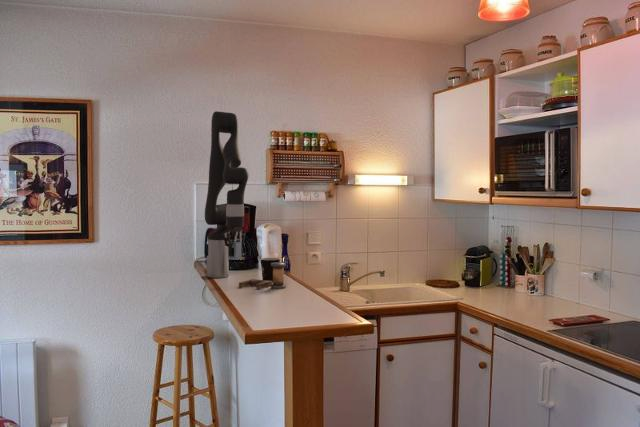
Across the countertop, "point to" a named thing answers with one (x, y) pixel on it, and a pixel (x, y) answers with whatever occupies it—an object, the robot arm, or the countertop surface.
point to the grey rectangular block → (236, 251)
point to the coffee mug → (268, 268)
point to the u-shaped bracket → (255, 283)
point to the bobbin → (278, 275)
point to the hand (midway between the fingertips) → (234, 255)
